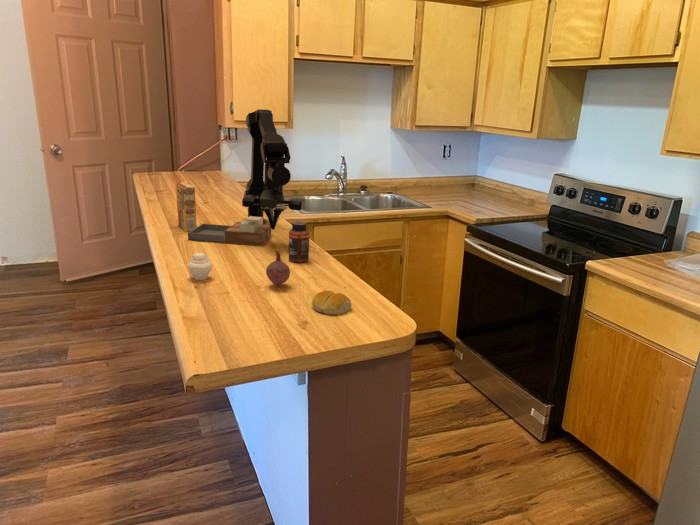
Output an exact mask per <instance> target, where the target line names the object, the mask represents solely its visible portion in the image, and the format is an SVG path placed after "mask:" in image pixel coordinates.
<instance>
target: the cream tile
mask: <svg viewBox="0 0 700 525" xmlns="http://www.w3.org/2000/svg"><path fill="white" fill-rule="evenodd" d="M263 219H264V216H263V217H254V216H249V217H248V216H247V218H245V221H253V222H257V227H260V226H262V225H263V224H264V223H263Z"/></svg>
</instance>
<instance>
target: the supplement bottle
mask: <svg viewBox="0 0 700 525" xmlns="http://www.w3.org/2000/svg"><path fill="white" fill-rule="evenodd" d="M309 256H310V232H309V230H308V229H307V223H306V222H305V221H293V222H292V226H291V229H290V230H289V231H288V260H289V261H290V262H292V263H298V264H299V263H305V262H307V261H308V260H309V259H310V258H309Z"/></svg>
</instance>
